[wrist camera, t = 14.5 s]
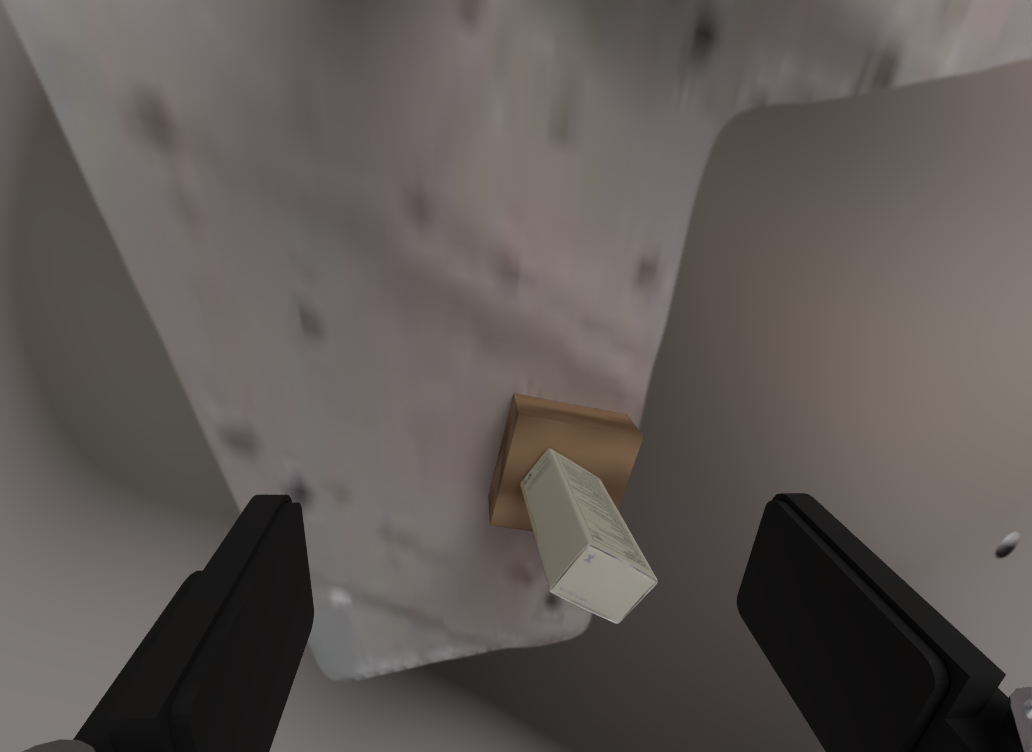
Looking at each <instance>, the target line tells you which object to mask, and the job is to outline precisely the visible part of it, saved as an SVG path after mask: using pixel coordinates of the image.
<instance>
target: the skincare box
mask: <svg viewBox="0 0 1032 752" xmlns="http://www.w3.org/2000/svg"><path fill="white" fill-rule="evenodd" d="M520 486H521V489H522V493H523V496H524V500H525V504H526V507H527V511H528V514H529V518H530V522H531V525H532V529H533V532H534V536H535V540H536V543H537V547H538V550H539V554H540V557H541V561H542V565H543V568H544V572H545V576H546V579H547V583H548V587H549V591H550V592H552V593H553V594H555V595H557V596H559V597H561V598H563V599H565V600H567V601H569V602H571V603H573V604H575V605H577V606H579V607H581V608H583V609H586V610H587V611H590V612H592V613H594V614H596V615H598V616H601V617H603V618H605V619H607V620H609V621H611V622H614V623H616V624H617V623H619V622H621V620H623V618H624V617H625V616H626V615H627V614H628V613H629V612H630V611H631V610H632V609H633V608H634V607H635V606H636V605H637V604H638V603H639V602H640V601H641V600H642V599H643V598H644V597H645V596H646V595H647V593H648V592H649V591H650V590H651V589H652V588H653V587H654V586H655V585H656V584H657V582H658V581H657V578H656V577H655V575H654V573H653V572H652V570H651V568H650V566H649V564H648V562H647V561H646V559H645V557H644V555H643V554H642V552H641V550H640V549H639V547H638V545H637V543H636V541H635V540H634V538H633V536H632V534H631V533H630V531H629V529H628V527H627V526H626V524H625V522H624V520H623V518H622V517H621V515H620V513H619V511H618V510H617V508H616V506H615V504H614V503H613V501H612V499H611V497H610V496H609V494H608V492H607V490H606V489H605V487H604V485H603V483H602V481H601V480H600V479H599V478H597V477H596V476H594V475H593V474H591V473H590V472H588V471H587V470H585V469H584V468H582V467H580V466H579V465H577V464H575V463H574V462H572V461H571V460H569V459H567V458H566V457H564V456H562V455H561V454H559V453H557V452H555V451H554V450H552V449H550V448H549V449H547V451H546V452H545V453H544V454H543V455H542V457H541V458H540V459H539V460H538V462H537V463H536V464H535V465H534V466H533V468H532V469H531V470H530V471H529V473H528V474H527V475H526V477H525V478H524V479H523V481H522V482H521V483H520Z"/></svg>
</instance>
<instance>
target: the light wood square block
mask: <svg viewBox="0 0 1032 752" xmlns="http://www.w3.org/2000/svg"><path fill="white" fill-rule="evenodd" d="M642 440H643V435H642V434H641V433H640V431H639V430H638V429H637V427H636V426H635V424H634V423H633V422H632V420H631V419H630V418H629V416H628V415H627V414H622V413H616V412H611V411H606V410H600V409H595V408H590V407H584V406H579V405H573V404H568V403H563V402H557V401H552V400H547V399H541V398H536V397H530V396H525V395H520V394H514V395H513V399H512V403H511V407H510V411H509V415H508V419H507V423H506V427H505V431H504V435H503V439H502V443H501V447H500V451H499V455H498V459H497V463H496V467H495V471H494V475H493V479H492V483H491V487H490V491H489V495H488V497H489V514H490V525H491V526H498V527H506V528H513V529H520V530H527V531H533V529H532V525H531V522H530V518H529V514H528V511H527V507H526V504H525V500H524V496H523V493H522V489H521V486H520V483H521V482H522V481H523V479H524V478H525V477H526V475H527V474H528V473H529V471H530V470H531V469H532V468H533V466H534V465H535V464H536V463H537V462H538V460H539V459H540V458H541V457H542V455H543V454H544V453H545V452H546V451H547V449H549V448H550V449H552V450H554V451H555V452H557V453H559V454H561V455H562V456H564V457H566V458H567V459H569V460H571V461H572V462H574V463H575V464H577V465H579V466H580V467H582V468H584V469H585V470H587V471H588V472H590V473H591V474H593V475H594V476H596V477H597V478H599V479H600V480H601V481H602V483H603V485H604V487H605V489H606V490H607V492H608V494H609V496H610V497H611V499H612V501H613V503H614V504H615V506H616V508H617V510H618V508H619V505H620V502H621V499H622V496H623V493H624V491H625V488H626V485H627V482H628V479H629V476H630V474H631V471H632V468H633V465H634V462H635V460H636V457H637V454H638V451H639V448H640V445H641V443H642Z"/></svg>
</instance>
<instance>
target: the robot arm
mask: <svg viewBox="0 0 1032 752" xmlns="http://www.w3.org/2000/svg"><path fill="white" fill-rule="evenodd" d="M737 607H738V610H739V613H740V615H741V617H742V619H743V620H744V622H745V624H746V625H747V627H748V628H749V630H750V632H751V633H752V635H753V636H754V638H755V640H756V641H757V643H758V644H759V646H760V648H761V649H762V651H763V652H764V654H765V655H766V657H767V659H768V660H769V662H770V663H771V665H772V667H773V668H774V670H775V671H776V673H777V675H778V676H779V678H780V679H781V681H782V683H783V684H784V686H785V687H786V689H787V691H788V692H789V694H790V695H791V697H792V699H793V700H794V702H795V703H796V705H797V707H798V708H799V710H800V711H801V713H802V714H803V716H804V717H805V719H806V721H807V722H808V724H809V726H810V727H811V729H812V730H813V732H814V734H815V735H816V737H817V738H818V740H819V742H820V743H821V745H822V746H823V748H824V749H825V751H826V752H1032V687H1023V688H1018V689H1016V690H1015V691H1014V692H1013V693H1012V694H1011V695H1010V696H1009V698H1008V697H1007V696H1006V695H1005V694H1004V693H1003V692H1002V691H1001V690H1000V689H999V688H998V686H999V685H1000V683H1001V681H1002V680H1003V678H1004V677H1005V675H1006V674H1005V673H1004V672H1003V671H1002V670H1001V669H999V668H998V667H997V666H996V665H995V664H994V663H993V662H992V661H991V660H990V659H989V658H987V657H986V656H985V655H984V654H983V653H982V652H981V651H980V650H979V649H978V648H977V647H975V646H974V645H973V644H972V643H971V642H970V641H969V640H968V639H967V638H965V636H964V635H962V634H961V633H960V632H959V631H958V630H957V629H956V628H955V627H954V626H952V625H951V624H950V623H949V622H948V621H947V620H946V619H945V618H944V617H943V616H942V615H940V613H938V612H937V611H936V610H935V609H934V608H933V607H932V606H931V605H930V604H928V603H927V602H926V601H925V600H924V599H923V598H922V597H921V596H920V595H919V594H918V593H917V592H916V591H914V590H913V589H912V588H911V587H910V586H909V585H908V584H907V583H906V582H905V581H904V580H902V579H901V578H900V577H899V576H898V575H897V574H896V573H895V572H894V571H893V570H891V568H889V567H888V566H887V565H886V564H885V563H884V562H883V561H882V560H881V559H880V558H879V557H877V556H876V555H875V554H874V553H873V552H872V551H871V550H870V549H869V548H868V547H867V546H865V545H864V544H863V543H862V542H861V541H860V540H859V539H858V538H857V537H856V536H854V535H853V534H852V533H851V532H850V531H849V530H848V529H847V528H846V527H845V526H844V525H843V524H842V523H840V522H839V521H838V520H837V519H836V518H835V517H834V516H833V515H832V514H831V513H830V512H828V511H827V510H826V509H825V508H824V507H823V506H822V505H821V504H820V503H818V501H816V500H815V499H814V498H813V497H812V496H810V495H808V494H804V493H801V494H800V493H789V494H787V493H784V494H783V493H782V494H777V495H776V496H775V497H774V498H773V500H772V501H769V502H768V503H767V505H766V507H765V510H764V513H763V516H762V519H761V522H760V526H759V529H758V532H757V535H756V538H755V541H754V545H753V548H752V551H751V555H750V557H749V561H748V564H747V567H746V570H745V573H744V576H743V580H742V583H741V586H740V589H739V592H738V596H737ZM313 618H314V605H313V597H312V589H311V581H310V573H309V564H308V556H307V548H306V540H305V532H304V524H303V515H302V508H301V505H300V503H292V500H291V498H290V496H289V495H255V496H254V497H253V498H252V499H251V500H250V502H249V503H248V505H247V506H246V507H245V509H244V510H243V512H242V513H241V515H240V516H239V518H238V520H237V521H236V522H235V524H234V525H233V527H232V528H231V530H230V531H229V533H228V534H227V536H226V537H225V539H224V540H223V542H222V543H221V545H220V546H219V548H218V549H217V551H216V552H215V553H214V555H213V556H212V558H211V559H210V561H209V562H208V564H207V565H206V567H205V568H204V570H203V571H196V572H194V573H193V574H191V575H190V576H189V577H188V578H187V579H186V580H185V581H184V582H183V584H182V585H181V587H180V588H179V590H178V591H177V592H176V594H175V595H174V597H173V598H172V600H171V601H170V602H169V604H168V605H167V607H166V608H165V610H164V611H163V612H162V614H161V615H160V617H159V618H158V620H157V621H156V622H155V624H154V625H153V627H152V628H151V630H150V631H149V632H148V634H147V635H146V637H145V638H144V639H143V641H142V642H141V644H140V645H139V646H138V648H137V649H136V651H135V652H134V654H133V655H132V657H131V658H130V659H129V661H128V662H127V664H126V665H125V667H124V668H123V669H122V671H121V672H120V674H119V675H118V676H117V678H116V679H115V681H114V682H113V684H112V685H111V686H110V688H109V689H108V691H107V692H106V693H105V695H104V696H103V698H102V699H101V701H100V702H99V704H98V705H97V706H96V708H95V709H94V711H93V712H92V713H91V715H90V716H89V718H88V719H87V721H86V722H85V723H84V725H83V726H82V728H81V729H80V731H79V732H78V734H77V735H76V736H75V738H74V739H73V740H56V741H52V742H48V743H44V744H40V745H36V746H34V747H32V748H30V749H27V750H25V751H23V752H269V751H270V748H271V745H272V742H273V739H274V736H275V733H276V730H277V728H278V725H279V722H280V719H281V716H282V713H283V710H284V707H285V704H286V702H287V699H288V695H289V693H290V690H291V687H292V684H293V681H294V678H295V675H296V672H297V670H298V667H299V664H300V660H301V658H302V655H303V652H304V649H305V646H306V644H307V641H308V638H309V635H310V632H311V629H312V624H313Z"/></svg>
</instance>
